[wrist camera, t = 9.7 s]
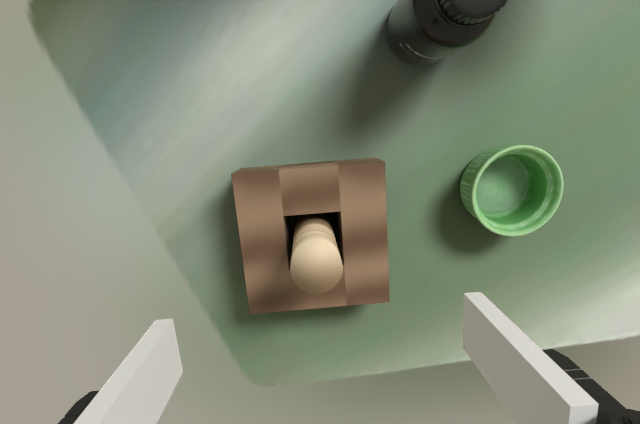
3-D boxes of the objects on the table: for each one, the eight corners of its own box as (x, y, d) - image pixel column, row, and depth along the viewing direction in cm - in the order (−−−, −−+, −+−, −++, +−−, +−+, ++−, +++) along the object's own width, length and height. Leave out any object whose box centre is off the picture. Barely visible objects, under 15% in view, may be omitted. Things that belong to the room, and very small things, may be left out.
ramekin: (451, 150, 37) (469, 152, 33) (535, 137, 37) (564, 138, 33) (456, 230, 39) (474, 243, 35) (536, 218, 39) (563, 229, 35)
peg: (293, 211, 38) (287, 246, 26) (330, 208, 38) (341, 242, 26) (296, 246, 39) (292, 295, 27) (332, 243, 39) (344, 291, 27)
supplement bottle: (393, 75, 35) (435, 47, 24) (379, 1, 34) (417, -68, 22) (460, 57, 35) (536, 20, 23) (449, -17, 34) (525, -97, 22)
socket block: (241, 168, 37) (231, 173, 32) (374, 157, 37) (384, 161, 32) (256, 291, 40) (249, 314, 35) (379, 281, 40) (389, 302, 35)
